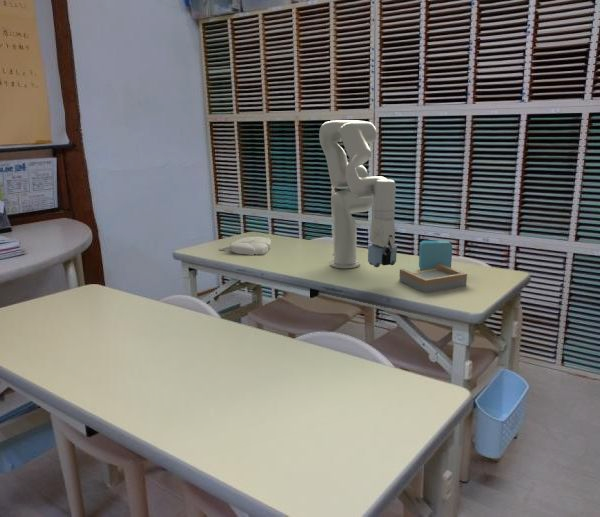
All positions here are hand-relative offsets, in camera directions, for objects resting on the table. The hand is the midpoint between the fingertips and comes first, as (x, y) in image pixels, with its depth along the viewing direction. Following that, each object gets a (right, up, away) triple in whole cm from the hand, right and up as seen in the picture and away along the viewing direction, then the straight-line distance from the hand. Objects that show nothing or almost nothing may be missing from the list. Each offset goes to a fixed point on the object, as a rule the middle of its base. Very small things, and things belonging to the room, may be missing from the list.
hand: (381, 262), depth 183 cm
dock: (+19, -8, +1) cm, 20 cm away
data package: (+24, -4, +17) cm, 30 cm away
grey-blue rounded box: (0, -1, 0) cm, 1 cm away
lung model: (-57, +4, +57) cm, 81 cm away
